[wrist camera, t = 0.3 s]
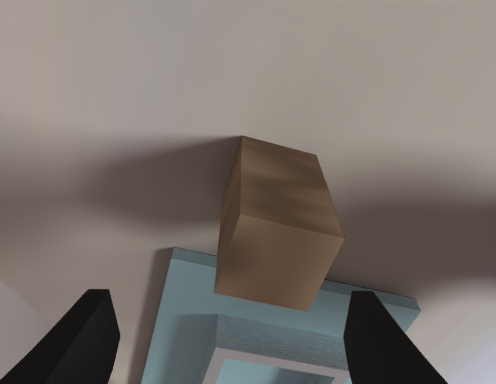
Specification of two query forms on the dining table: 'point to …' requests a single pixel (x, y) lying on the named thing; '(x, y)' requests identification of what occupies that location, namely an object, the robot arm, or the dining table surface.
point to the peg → (276, 227)
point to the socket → (273, 350)
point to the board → (210, 305)
